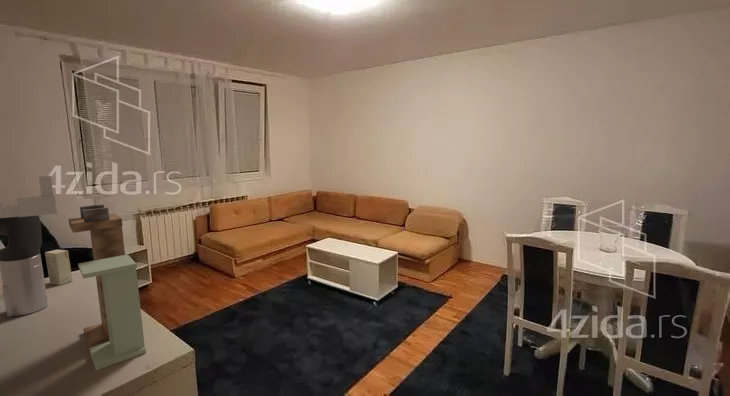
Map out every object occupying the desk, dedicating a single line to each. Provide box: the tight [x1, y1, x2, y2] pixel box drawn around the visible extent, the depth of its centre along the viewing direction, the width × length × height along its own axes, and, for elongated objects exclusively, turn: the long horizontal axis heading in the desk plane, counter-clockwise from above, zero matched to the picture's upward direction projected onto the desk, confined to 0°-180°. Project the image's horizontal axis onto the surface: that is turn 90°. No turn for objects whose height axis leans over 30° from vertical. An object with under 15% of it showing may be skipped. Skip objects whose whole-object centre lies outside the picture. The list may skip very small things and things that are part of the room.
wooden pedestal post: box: [68, 204, 126, 348], centre depth 93 cm, size 10×10×35 cm
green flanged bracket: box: [77, 254, 147, 371], centre depth 85 cm, size 10×10×23 cm
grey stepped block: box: [0, 175, 58, 218], centre depth 74 cm, size 16×4×8 cm, turn 133°
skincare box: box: [44, 249, 73, 286], centre depth 131 cm, size 6×4×12 cm
